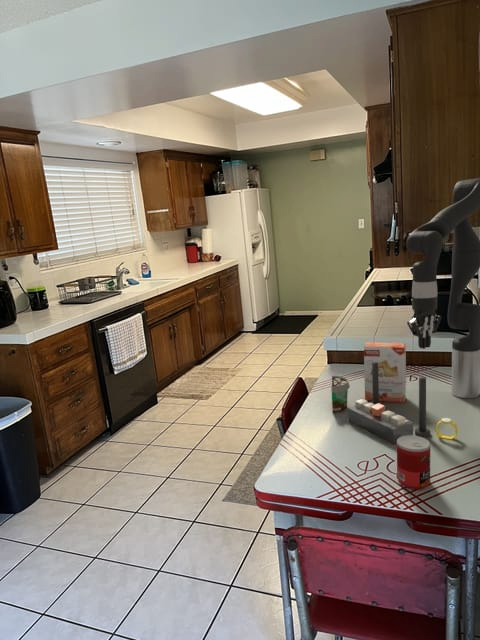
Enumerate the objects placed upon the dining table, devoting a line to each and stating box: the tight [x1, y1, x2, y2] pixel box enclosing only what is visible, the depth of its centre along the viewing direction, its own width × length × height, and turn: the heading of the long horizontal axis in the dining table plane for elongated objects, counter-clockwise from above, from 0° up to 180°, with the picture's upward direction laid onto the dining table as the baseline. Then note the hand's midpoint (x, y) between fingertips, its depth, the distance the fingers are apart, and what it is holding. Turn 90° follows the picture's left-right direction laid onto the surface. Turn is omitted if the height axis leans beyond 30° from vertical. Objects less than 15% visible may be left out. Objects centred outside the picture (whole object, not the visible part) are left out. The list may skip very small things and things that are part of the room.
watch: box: [434, 417, 459, 440], centre depth 142 cm, size 6×3×6 cm, turn 59°
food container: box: [330, 375, 351, 414], centre depth 170 cm, size 12×6×10 cm, turn 168°
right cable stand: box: [414, 376, 431, 438], centre depth 145 cm, size 4×4×18 cm
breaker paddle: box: [371, 402, 386, 417], centre depth 150 cm, size 3×3×2 cm
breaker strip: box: [347, 398, 414, 446], centre depth 151 cm, size 8×20×7 cm, turn 28°
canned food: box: [396, 435, 431, 490], centre depth 121 cm, size 8×8×11 cm
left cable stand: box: [372, 362, 380, 405], centre depth 162 cm, size 4×4×18 cm
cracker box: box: [363, 341, 407, 404], centre depth 173 cm, size 14×6×21 cm, turn 68°
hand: (424, 347), depth 156 cm, fingers closed
